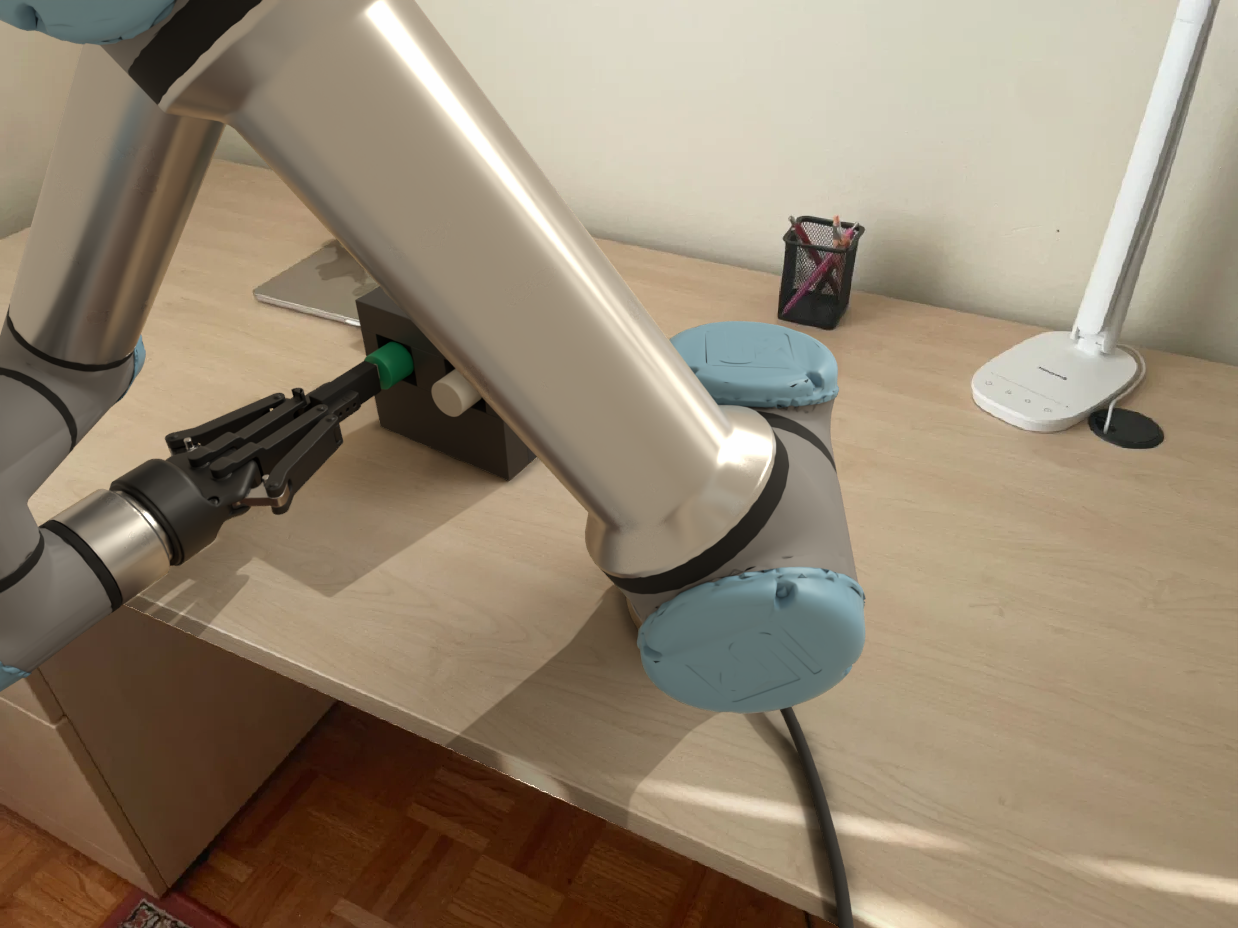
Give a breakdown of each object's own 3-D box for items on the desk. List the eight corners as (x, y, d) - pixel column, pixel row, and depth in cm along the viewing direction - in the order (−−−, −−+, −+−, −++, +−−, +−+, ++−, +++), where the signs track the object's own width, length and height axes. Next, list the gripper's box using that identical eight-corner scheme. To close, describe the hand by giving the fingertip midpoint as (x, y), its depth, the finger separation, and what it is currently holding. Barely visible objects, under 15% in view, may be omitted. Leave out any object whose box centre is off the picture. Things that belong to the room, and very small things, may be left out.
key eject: (464, 422, 78) (459, 389, 76) (433, 410, 79) (428, 377, 77) (485, 405, 80) (481, 373, 78) (455, 394, 81) (451, 361, 79)
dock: (509, 481, 83) (496, 349, 74) (380, 426, 90) (354, 299, 81) (559, 437, 88) (552, 309, 80) (433, 388, 95) (415, 265, 86)
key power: (393, 394, 81) (388, 362, 79) (366, 383, 83) (359, 351, 81) (416, 379, 83) (411, 347, 81) (388, 368, 85) (383, 336, 82)
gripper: (102, 534, 70) (328, 389, 86) (215, 600, 65) (434, 432, 80) (65, 457, 65) (312, 319, 81) (183, 521, 60) (423, 360, 76)
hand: (372, 375), depth 81 cm, fingers closed
